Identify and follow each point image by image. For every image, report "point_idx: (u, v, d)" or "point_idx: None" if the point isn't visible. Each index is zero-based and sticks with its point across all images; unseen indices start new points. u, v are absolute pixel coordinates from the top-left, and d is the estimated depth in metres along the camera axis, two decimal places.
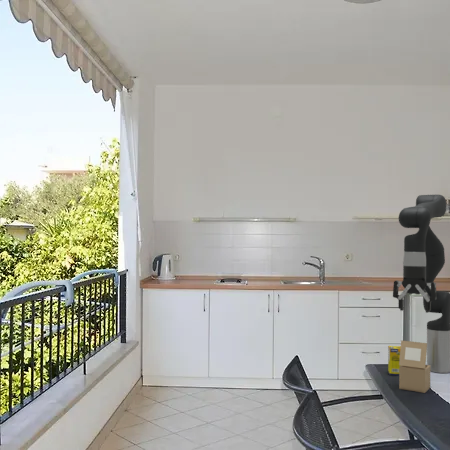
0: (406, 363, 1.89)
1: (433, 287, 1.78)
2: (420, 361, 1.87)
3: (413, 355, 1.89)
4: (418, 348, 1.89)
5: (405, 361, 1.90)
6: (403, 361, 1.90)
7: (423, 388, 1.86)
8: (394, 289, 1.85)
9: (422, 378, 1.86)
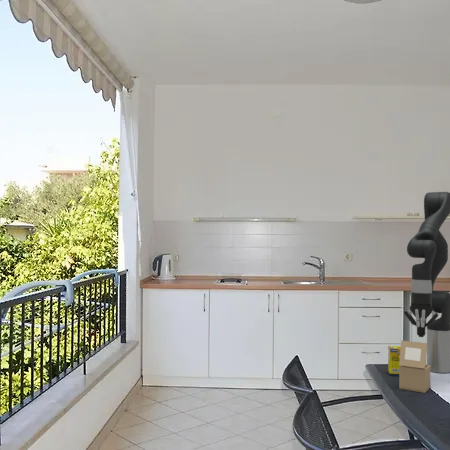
0: (406, 363, 1.89)
1: (434, 317, 1.97)
2: (420, 361, 1.87)
3: (413, 355, 1.89)
4: (418, 348, 1.89)
5: (405, 361, 1.90)
6: (403, 361, 1.90)
7: (423, 388, 1.86)
8: (409, 318, 2.02)
9: (422, 378, 1.86)
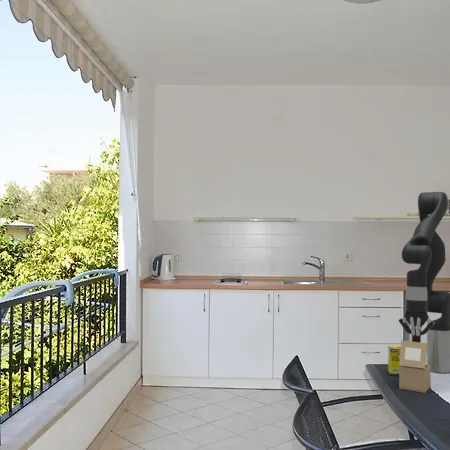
0: (406, 363, 1.89)
1: (430, 326, 1.90)
2: (420, 361, 1.87)
3: (413, 355, 1.89)
4: (418, 348, 1.89)
5: (405, 361, 1.90)
6: (403, 361, 1.90)
7: (423, 388, 1.86)
8: (404, 326, 1.95)
9: (422, 378, 1.86)
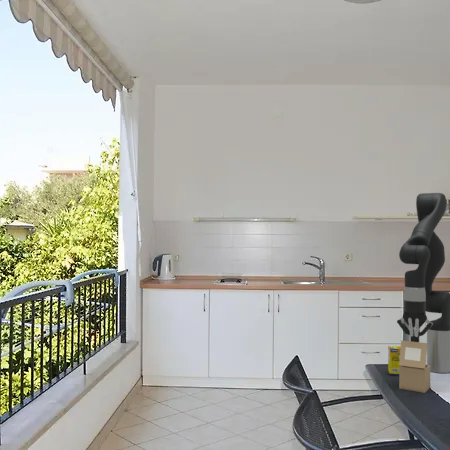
0: (406, 363, 1.89)
1: (428, 327, 1.88)
2: (420, 361, 1.87)
3: (413, 355, 1.89)
4: (418, 348, 1.89)
5: (405, 361, 1.90)
6: (403, 361, 1.90)
7: (423, 388, 1.86)
8: (402, 327, 1.93)
9: (422, 378, 1.86)
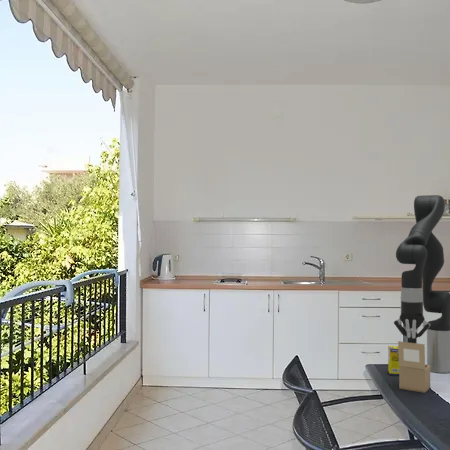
0: (406, 364, 1.89)
1: (426, 328, 1.85)
2: (419, 362, 1.86)
3: (411, 356, 1.87)
4: (416, 349, 1.86)
5: (404, 362, 1.89)
6: (403, 362, 1.89)
7: (423, 388, 1.86)
8: (399, 328, 1.90)
9: (422, 378, 1.86)
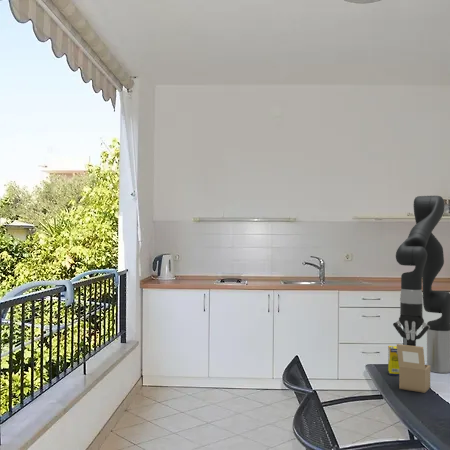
0: (405, 365, 1.89)
1: (425, 330, 1.84)
2: (419, 363, 1.86)
3: (411, 358, 1.86)
4: (415, 352, 1.85)
5: (404, 363, 1.89)
6: (402, 363, 1.89)
7: (423, 388, 1.86)
8: (398, 330, 1.89)
9: (422, 378, 1.86)
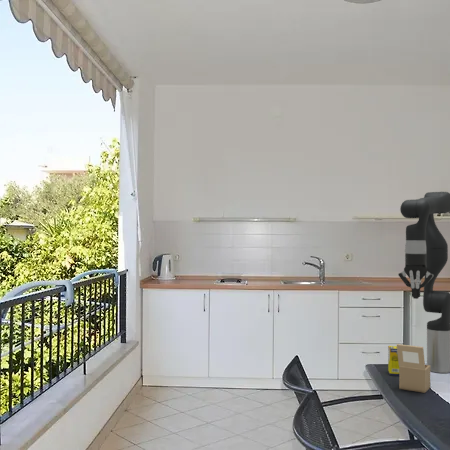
0: (405, 365, 1.89)
1: (429, 278, 1.93)
2: (419, 363, 1.86)
3: (411, 358, 1.86)
4: (415, 352, 1.85)
5: (404, 363, 1.89)
6: (402, 363, 1.89)
7: (423, 388, 1.86)
8: (403, 280, 1.98)
9: (422, 378, 1.86)
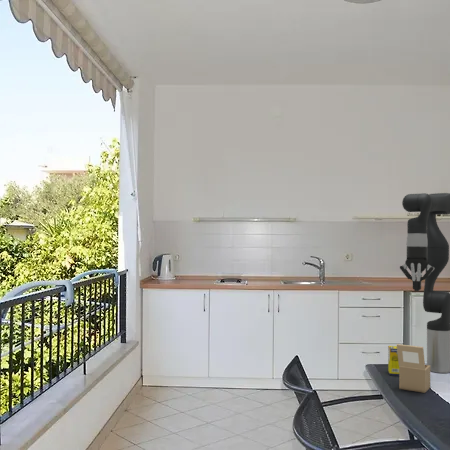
0: (405, 365, 1.89)
1: (430, 271, 1.96)
2: (419, 363, 1.86)
3: (411, 358, 1.86)
4: (415, 352, 1.85)
5: (404, 363, 1.89)
6: (402, 363, 1.89)
7: (423, 388, 1.86)
8: (405, 273, 2.01)
9: (422, 378, 1.86)
